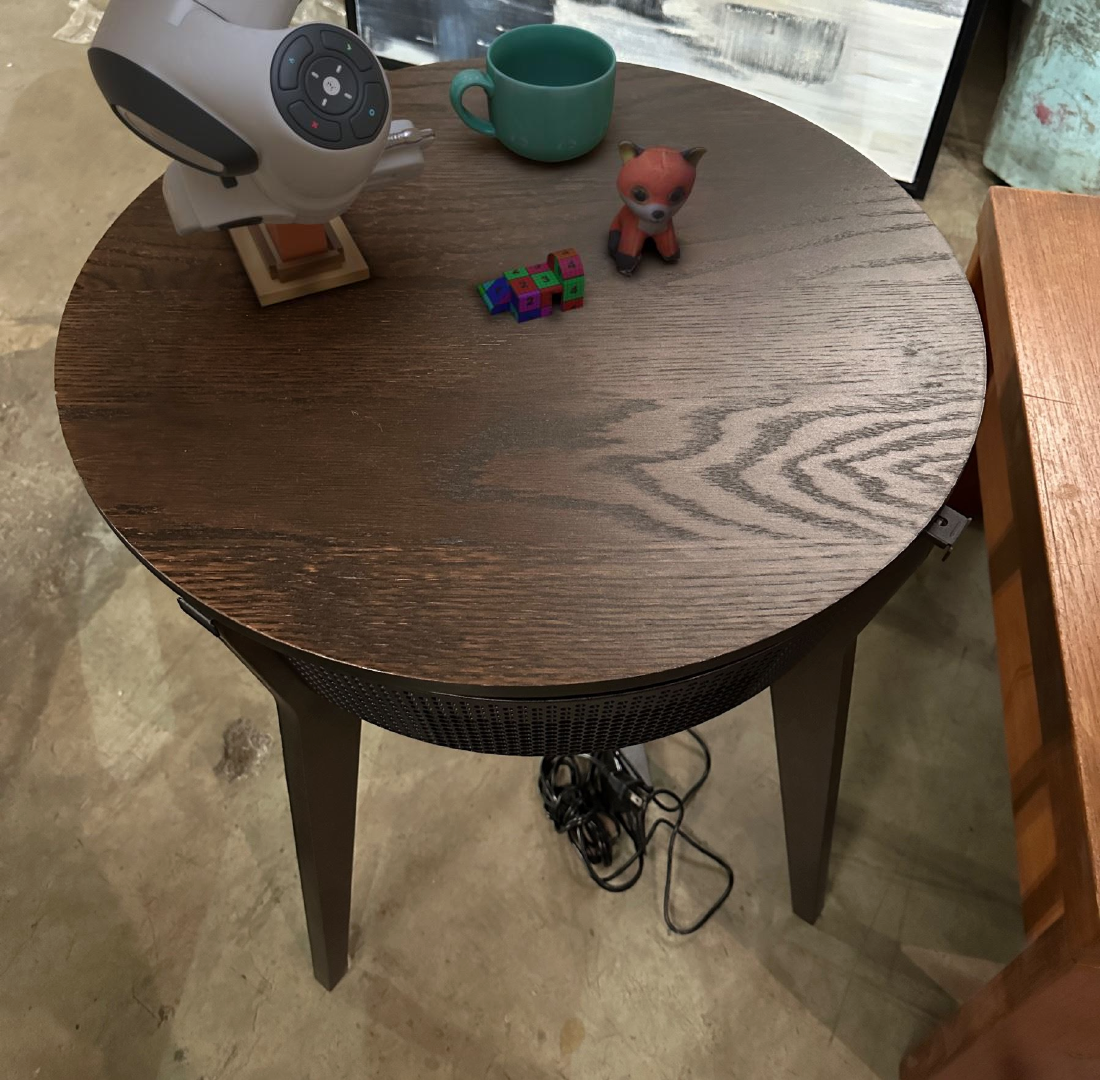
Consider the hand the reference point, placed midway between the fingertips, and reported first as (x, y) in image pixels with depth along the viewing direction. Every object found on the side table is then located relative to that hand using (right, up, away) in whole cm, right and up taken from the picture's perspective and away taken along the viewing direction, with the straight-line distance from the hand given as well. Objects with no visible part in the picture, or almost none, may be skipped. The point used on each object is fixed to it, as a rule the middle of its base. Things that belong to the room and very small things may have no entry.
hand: (290, 201), depth 88 cm
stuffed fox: (+31, -1, +10) cm, 33 cm away
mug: (+20, +12, +19) cm, 30 cm away
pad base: (-2, 0, +9) cm, 9 cm away
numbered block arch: (+20, -7, +5) cm, 22 cm away
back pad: (-1, -2, +7) cm, 7 cm away
